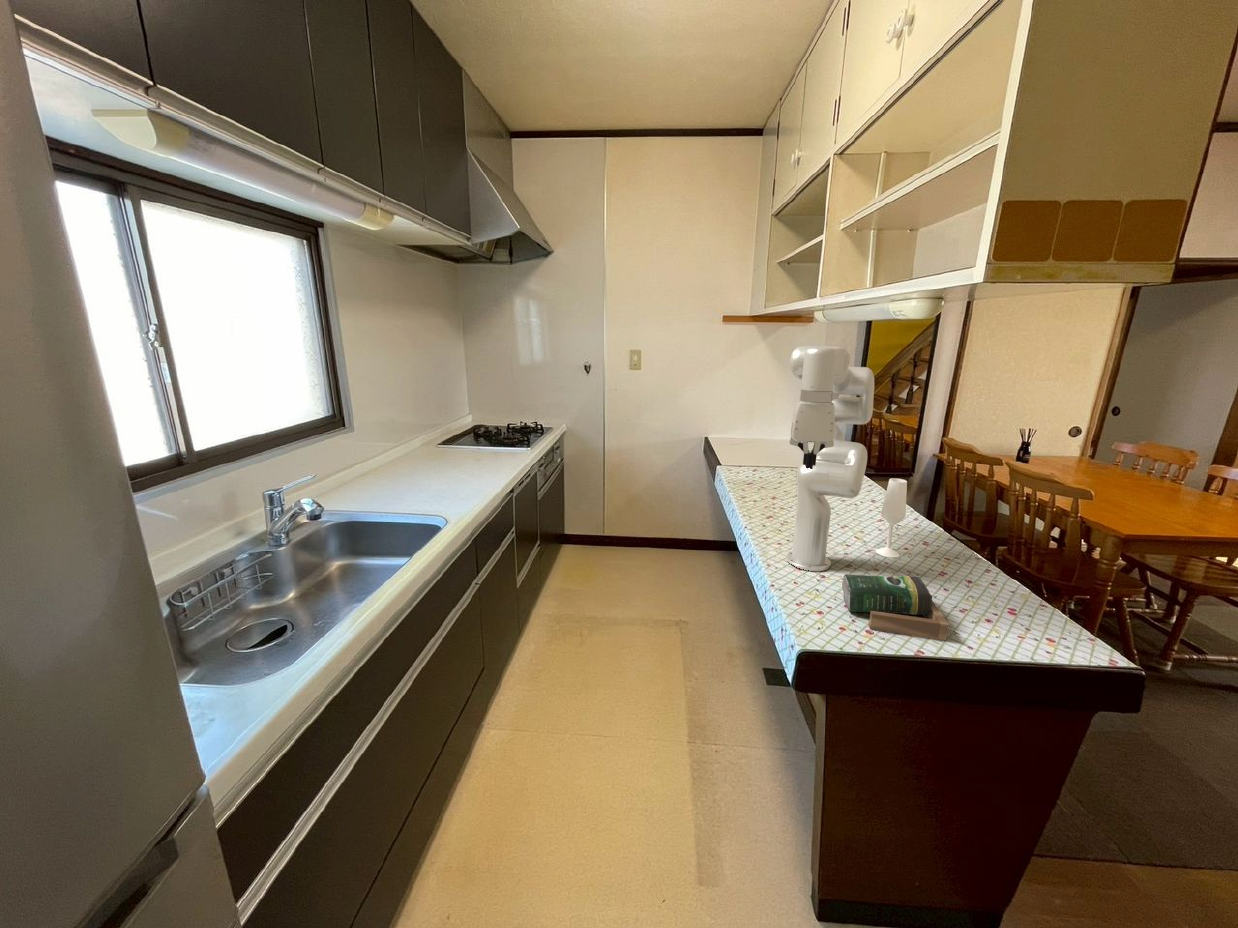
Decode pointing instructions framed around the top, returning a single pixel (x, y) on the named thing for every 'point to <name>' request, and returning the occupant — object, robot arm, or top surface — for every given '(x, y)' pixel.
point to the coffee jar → (886, 594)
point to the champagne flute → (893, 511)
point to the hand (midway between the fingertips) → (808, 467)
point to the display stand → (911, 624)
